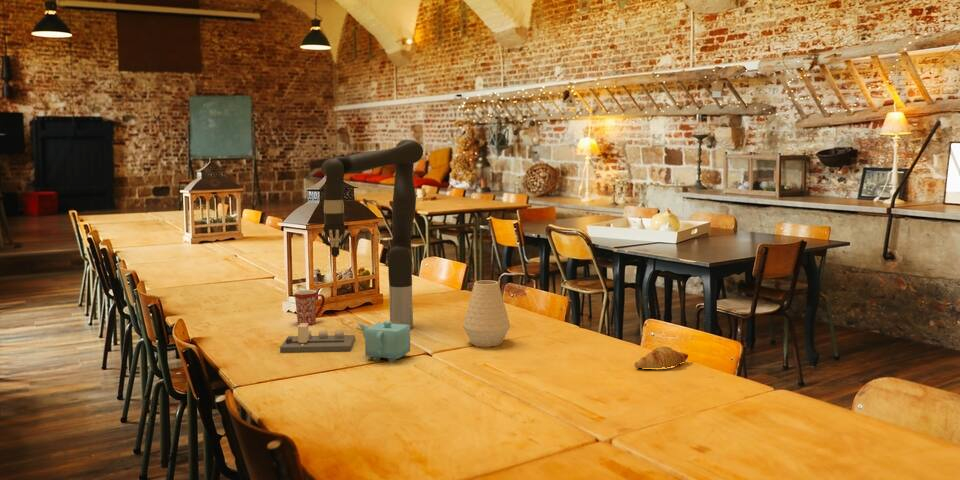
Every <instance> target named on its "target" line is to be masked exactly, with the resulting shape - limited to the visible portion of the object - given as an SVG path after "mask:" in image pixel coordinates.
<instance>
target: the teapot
mask: <svg viewBox="0 0 960 480" xmlns="http://www.w3.org/2000/svg"><path fill="white" fill-rule="evenodd" d="M391 323H392V322H391V321H390V320H386V321H383V322H377V323H375V324H373V325H371V326H369V327H367V326H366V325H365V324H363V323H356V325H357V326H359V327H360V328H361V330H362V335H363V338H364V346H365V349H364V352H365V357H373V358H372V360H371V361H375V362H377V361H380V360H381V358H384V359H388V362H389V363H396V362H397V360H398V359H400V358H404V357H405V355H407V354H408V353H409V352H411V328H410V325H404V324H391Z"/></svg>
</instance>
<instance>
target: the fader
mask: <svg viewBox="0 0 960 480" xmlns="http://www.w3.org/2000/svg"><path fill="white" fill-rule="evenodd" d="M309 326H310V325H308V323H300V324H299V325H297V336H298V343H307V341H308V340H309V331H310V330H309Z"/></svg>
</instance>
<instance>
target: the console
mask: <svg viewBox="0 0 960 480" xmlns="http://www.w3.org/2000/svg"><path fill="white" fill-rule="evenodd" d="M344 332H345V330H343V329H337V330H335V331H334V334H333V335H328V330H325V329H324V330H323V329H322V330H319V331H318V335H312V330H309V340H308V341H307V343H298V335H288V336H287V337H286V339H285V340H284V341H283V343H282V344H281V345H280V347H279V353H280V354H283V353H291V354H292V353H331V352H332V353H333V352H336V353H337V352H338V353H339V352H341V353H342V352H351V351H352V348H353V346H354V344H355V341H356V334H348V335H347V334H345V333H344Z"/></svg>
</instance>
